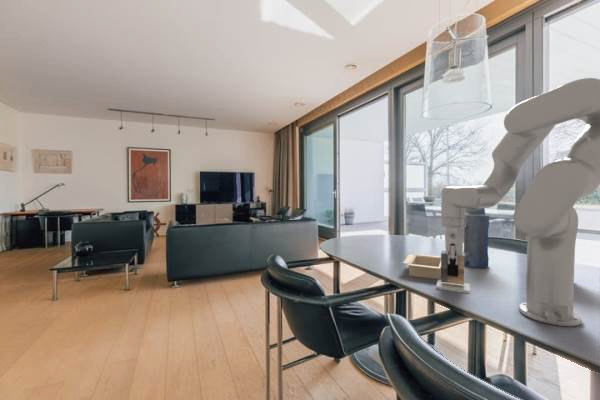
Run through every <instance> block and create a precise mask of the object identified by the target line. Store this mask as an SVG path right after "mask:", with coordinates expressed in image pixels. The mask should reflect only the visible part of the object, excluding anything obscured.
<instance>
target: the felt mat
mask: <svg viewBox="0 0 600 400" xmlns="http://www.w3.org/2000/svg"><path fill="white" fill-rule="evenodd" d="M435 288H436V290H437V289H438V290H443V291H444V290H446V291H452V292H457V293H465V294H471V288H470V283H466V282H464V285H462V284H454V283H446V282H441V279H440V280H439V279H437V282H436V286H435Z"/></svg>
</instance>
